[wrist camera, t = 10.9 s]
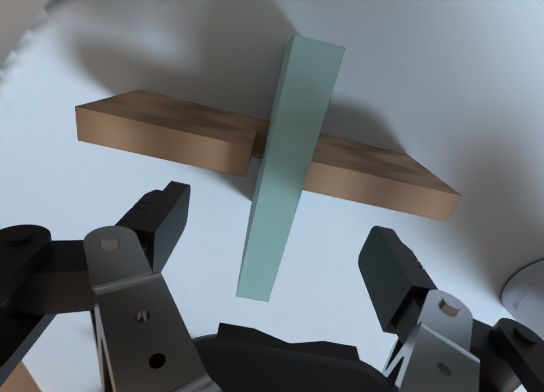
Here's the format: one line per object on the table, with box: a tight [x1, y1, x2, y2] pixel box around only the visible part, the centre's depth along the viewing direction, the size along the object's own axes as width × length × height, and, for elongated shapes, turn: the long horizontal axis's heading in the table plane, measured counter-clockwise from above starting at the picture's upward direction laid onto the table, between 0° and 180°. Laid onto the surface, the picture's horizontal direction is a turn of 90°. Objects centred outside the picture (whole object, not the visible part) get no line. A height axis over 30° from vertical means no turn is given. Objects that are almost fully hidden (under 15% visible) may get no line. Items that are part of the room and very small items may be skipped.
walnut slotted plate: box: [75, 90, 462, 221], centre depth 21 cm, size 24×2×8 cm, turn 77°
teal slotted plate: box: [236, 35, 345, 302], centre depth 19 cm, size 2×14×12 cm, turn 167°
